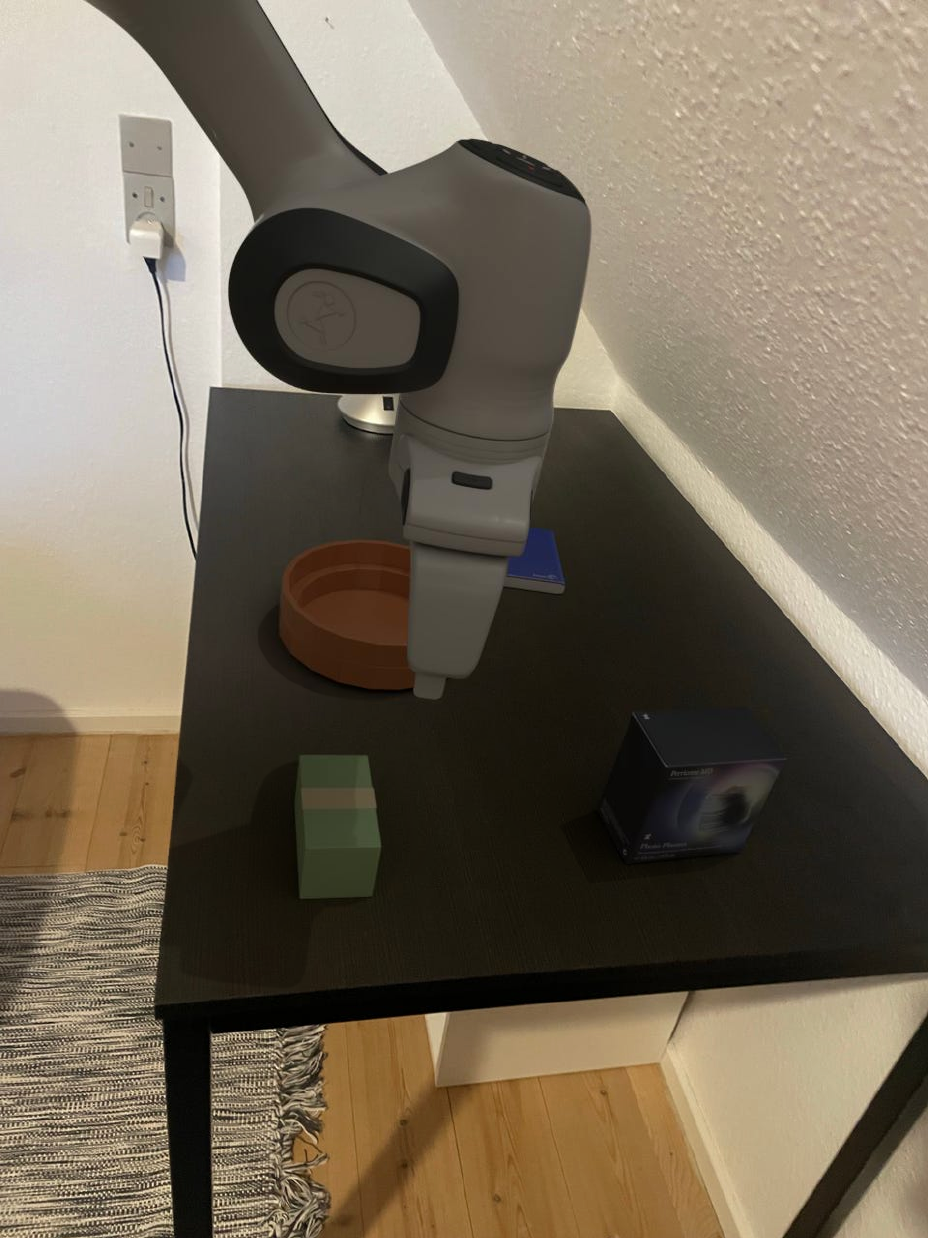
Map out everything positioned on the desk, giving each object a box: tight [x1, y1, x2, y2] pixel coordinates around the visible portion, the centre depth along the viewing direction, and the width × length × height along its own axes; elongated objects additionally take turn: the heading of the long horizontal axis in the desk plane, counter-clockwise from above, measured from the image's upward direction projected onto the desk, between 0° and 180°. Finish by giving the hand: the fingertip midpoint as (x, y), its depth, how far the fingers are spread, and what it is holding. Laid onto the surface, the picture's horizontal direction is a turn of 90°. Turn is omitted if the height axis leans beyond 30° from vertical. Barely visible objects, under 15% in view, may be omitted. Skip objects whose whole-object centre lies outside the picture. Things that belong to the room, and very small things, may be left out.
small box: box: [595, 705, 787, 865], centre depth 73 cm, size 11×6×10 cm, turn 105°
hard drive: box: [503, 526, 566, 595], centre depth 109 cm, size 2×8×12 cm
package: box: [293, 754, 382, 900], centre depth 67 cm, size 5×9×5 cm, turn 10°
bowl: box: [278, 538, 415, 691], centre depth 90 cm, size 18×18×6 cm
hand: (428, 648), depth 62 cm, fingers open, 8 cm apart
